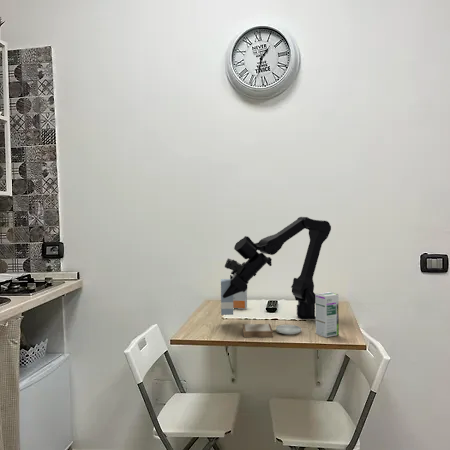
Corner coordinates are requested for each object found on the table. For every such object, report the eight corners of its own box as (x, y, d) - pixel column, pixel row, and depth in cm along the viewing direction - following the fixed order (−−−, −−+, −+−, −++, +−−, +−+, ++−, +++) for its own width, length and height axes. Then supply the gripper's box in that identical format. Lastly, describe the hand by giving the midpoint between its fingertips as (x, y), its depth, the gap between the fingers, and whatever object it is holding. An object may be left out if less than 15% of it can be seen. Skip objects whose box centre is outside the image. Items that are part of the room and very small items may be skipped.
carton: (233, 311, 184) (232, 278, 183) (233, 314, 178) (233, 281, 178) (221, 311, 184) (220, 279, 183) (221, 314, 178) (220, 281, 178)
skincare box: (232, 309, 206) (231, 281, 205) (233, 307, 210) (233, 279, 209) (246, 309, 205) (245, 281, 204) (247, 307, 209) (247, 280, 208)
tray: (270, 328, 175) (270, 323, 175) (272, 336, 165) (272, 331, 165) (242, 329, 175) (242, 323, 175) (243, 337, 165) (243, 331, 165)
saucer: (299, 328, 175) (299, 324, 175) (303, 336, 166) (303, 331, 166) (274, 329, 175) (274, 324, 175) (277, 336, 166) (277, 331, 166)
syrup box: (325, 338, 163) (326, 295, 163) (315, 333, 169) (315, 292, 168) (339, 335, 166) (339, 294, 165) (327, 331, 171) (328, 291, 170)
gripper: (236, 248, 189) (208, 276, 189) (237, 254, 170) (207, 285, 171) (256, 268, 189) (228, 296, 190) (260, 276, 171) (229, 307, 171)
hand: (223, 295), depth 181 cm, fingers closed on carton, 5 cm apart
